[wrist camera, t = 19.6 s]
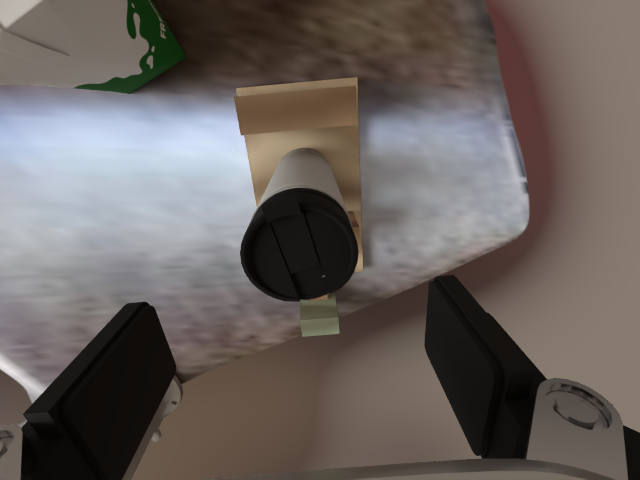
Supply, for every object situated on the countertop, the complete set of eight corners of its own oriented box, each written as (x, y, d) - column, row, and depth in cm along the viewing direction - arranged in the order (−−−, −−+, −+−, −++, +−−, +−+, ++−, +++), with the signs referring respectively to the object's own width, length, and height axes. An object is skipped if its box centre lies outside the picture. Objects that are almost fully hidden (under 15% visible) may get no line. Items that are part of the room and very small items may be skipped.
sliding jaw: (356, 305, 40) (362, 331, 36) (282, 312, 40) (279, 338, 36) (352, 211, 35) (359, 226, 30) (267, 218, 35) (260, 235, 30)
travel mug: (323, 137, 32) (344, 181, 13) (338, 195, 34) (372, 298, 16) (267, 153, 32) (213, 218, 14) (286, 210, 35) (262, 325, 17)
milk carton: (64, 15, 28) (-406, -158, 10) (141, -42, 26) (-241, -376, 8) (129, 107, 31) (-127, 108, 13) (201, 61, 30) (27, -12, 11)
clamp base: (361, 266, 40) (371, 298, 33) (270, 274, 40) (263, 308, 33) (355, 78, 31) (368, 70, 24) (238, 88, 31) (219, 83, 24)
